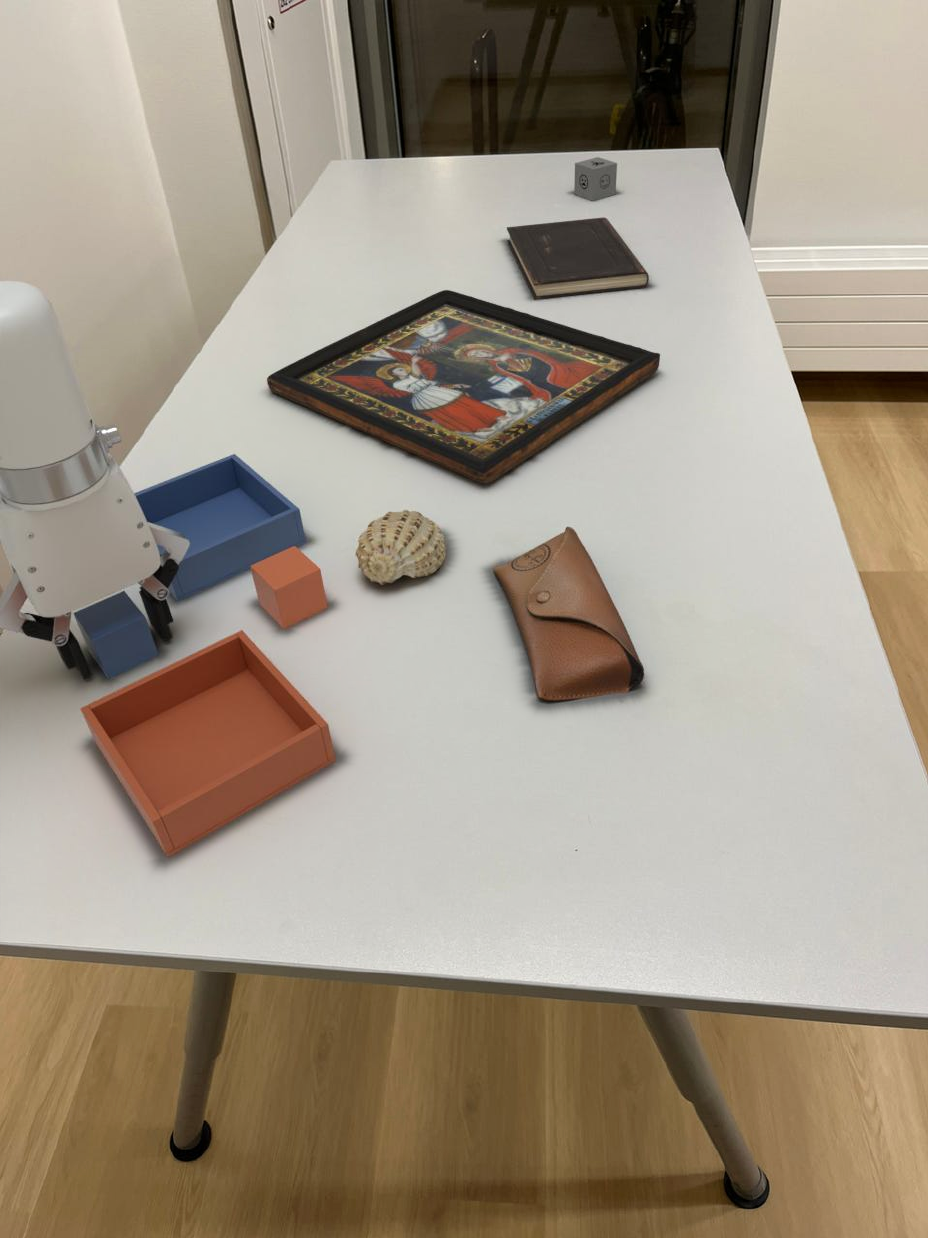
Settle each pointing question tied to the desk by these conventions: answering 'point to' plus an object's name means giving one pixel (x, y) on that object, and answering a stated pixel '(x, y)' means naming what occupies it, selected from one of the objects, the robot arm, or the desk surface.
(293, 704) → the terracotta bin
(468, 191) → the desk surface
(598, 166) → the dice cube
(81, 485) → the robot arm
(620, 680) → the sunglasses case
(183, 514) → the blue bin
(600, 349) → the framed icon painting
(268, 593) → the terracotta block
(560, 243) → the hardcover book
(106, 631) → the blue block
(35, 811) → the desk surface
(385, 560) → the seashell
